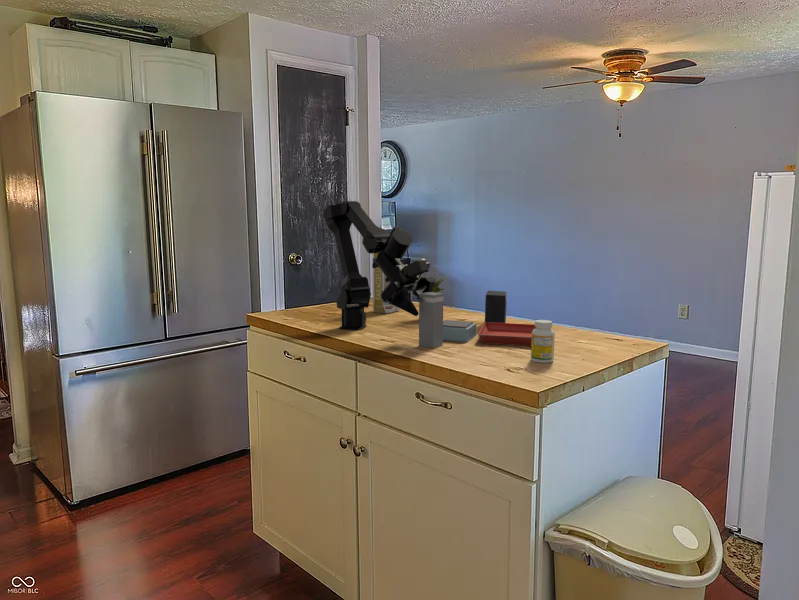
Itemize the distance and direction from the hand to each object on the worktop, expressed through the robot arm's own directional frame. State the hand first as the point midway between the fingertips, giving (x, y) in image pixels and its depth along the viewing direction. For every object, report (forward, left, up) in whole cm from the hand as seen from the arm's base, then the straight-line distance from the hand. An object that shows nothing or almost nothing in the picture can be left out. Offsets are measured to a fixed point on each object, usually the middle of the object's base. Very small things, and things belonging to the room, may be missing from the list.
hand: (427, 312), depth 160 cm
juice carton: (-31, +47, -9) cm, 57 cm away
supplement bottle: (+31, -6, -9) cm, 33 cm away
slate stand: (+4, +13, -9) cm, 16 cm away
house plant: (-13, +37, -9) cm, 40 cm away
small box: (+11, +35, -9) cm, 38 cm away
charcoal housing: (+1, 0, -9) cm, 9 cm away
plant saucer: (+20, +16, -9) cm, 27 cm away
